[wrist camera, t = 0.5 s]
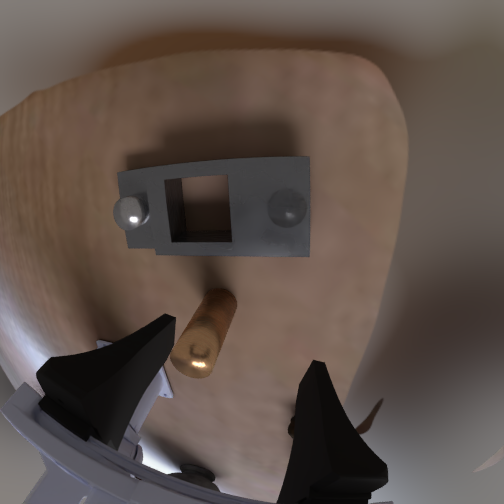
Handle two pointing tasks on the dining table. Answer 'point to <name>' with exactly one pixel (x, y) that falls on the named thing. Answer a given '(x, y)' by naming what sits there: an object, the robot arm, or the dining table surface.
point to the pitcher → (196, 476)
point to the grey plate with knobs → (241, 208)
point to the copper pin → (204, 334)
